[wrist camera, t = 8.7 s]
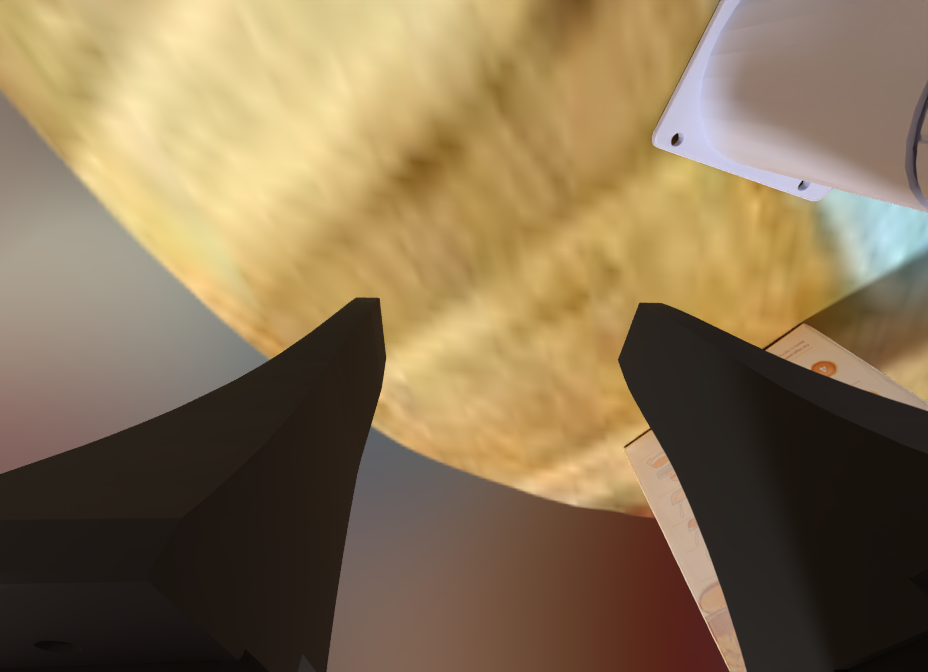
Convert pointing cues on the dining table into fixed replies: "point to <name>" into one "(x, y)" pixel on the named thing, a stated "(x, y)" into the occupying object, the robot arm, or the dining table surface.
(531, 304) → the dining table surface
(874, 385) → the coffeecake box
